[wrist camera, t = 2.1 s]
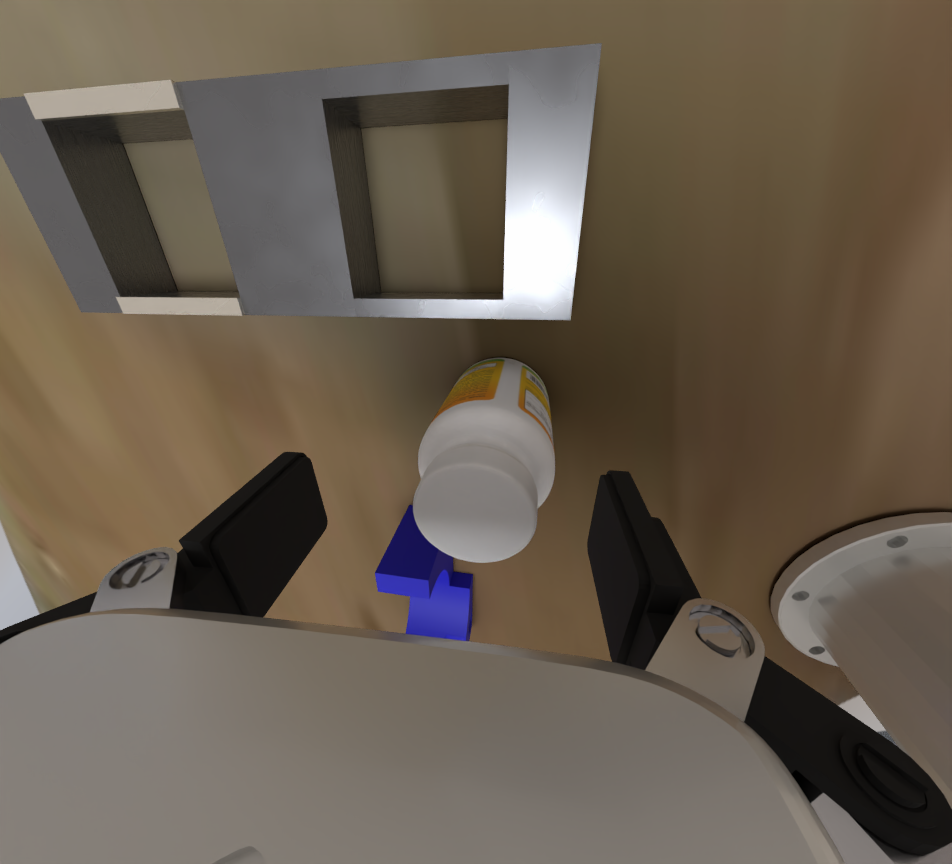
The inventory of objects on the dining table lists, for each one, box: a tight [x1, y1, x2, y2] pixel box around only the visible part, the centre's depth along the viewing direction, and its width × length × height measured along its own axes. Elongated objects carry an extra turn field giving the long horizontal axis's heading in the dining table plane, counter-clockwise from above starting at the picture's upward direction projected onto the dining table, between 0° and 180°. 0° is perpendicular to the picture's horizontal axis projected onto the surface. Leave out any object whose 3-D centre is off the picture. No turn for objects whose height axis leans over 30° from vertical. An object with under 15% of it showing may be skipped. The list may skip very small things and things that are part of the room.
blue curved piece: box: [375, 505, 473, 641], centre depth 24 cm, size 12×4×6 cm, turn 179°
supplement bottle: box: [413, 358, 555, 563], centre depth 15 cm, size 5×5×10 cm
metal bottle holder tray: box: [0, 43, 602, 320], centre depth 15 cm, size 24×8×3 cm, turn 91°
